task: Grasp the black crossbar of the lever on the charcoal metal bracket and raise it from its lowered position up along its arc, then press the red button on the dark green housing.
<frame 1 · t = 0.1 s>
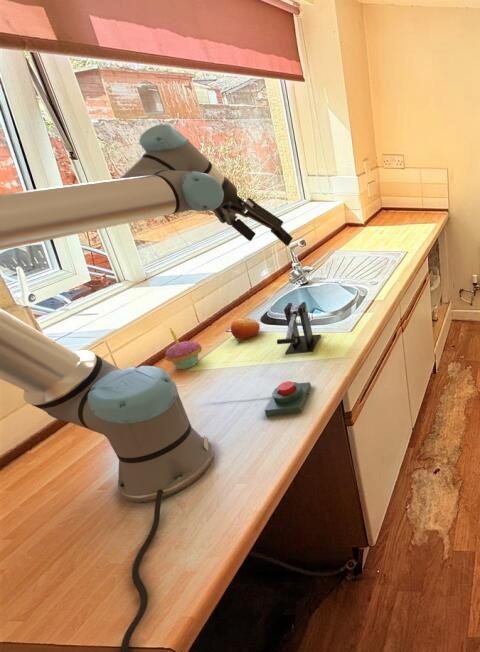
hand: (270, 239, 115), 36 cm above the worktop, tool tilted 35°, fingers open, 13 cm apart
cupcake: (188, 364, 119), on the worktop
button box: (290, 402, 104), on the worktop
fruit: (248, 337, 133), on the worktop
button: (286, 388, 103), point 5 cm above the worktop, slide at 0.2 cm
bracket: (304, 346, 129), on the worktop
lever: (292, 324, 120), point 11 cm above the worktop, hinge at -20.0°
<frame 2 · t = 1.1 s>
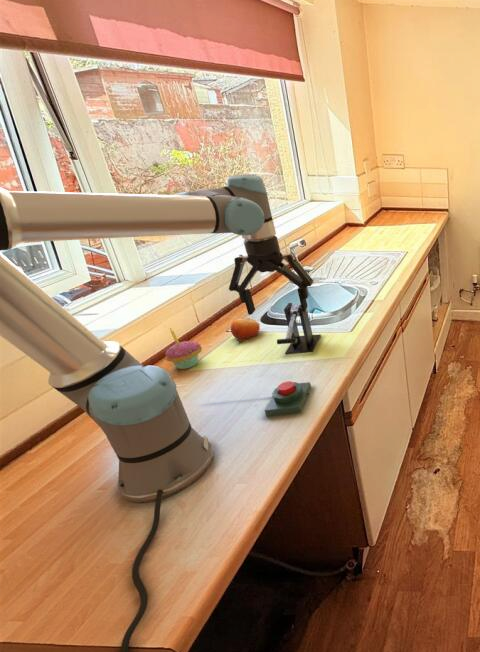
hand: (278, 310, 111), 19 cm above the worktop, tool pointing down, fingers open, 13 cm apart
nothing on the worktop moved.
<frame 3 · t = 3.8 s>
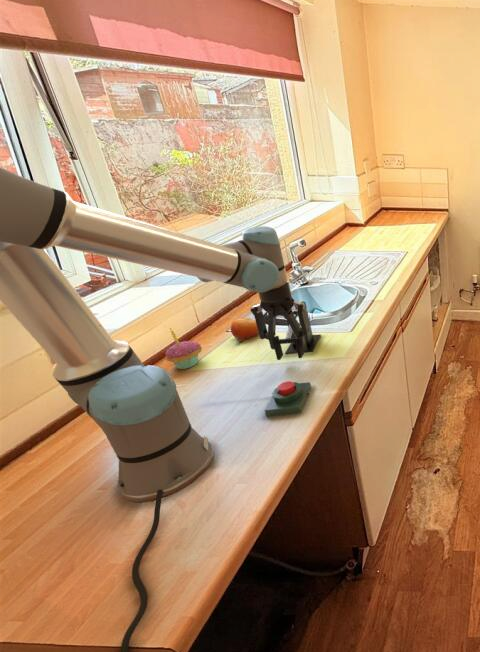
hand: (291, 356, 117), 4 cm above the worktop, tool pointing down, fingers closed on lever, 5 cm apart
lever: (292, 324, 120), point 11 cm above the worktop, hinge at -20.0°, touching gripper
everything else where it was.
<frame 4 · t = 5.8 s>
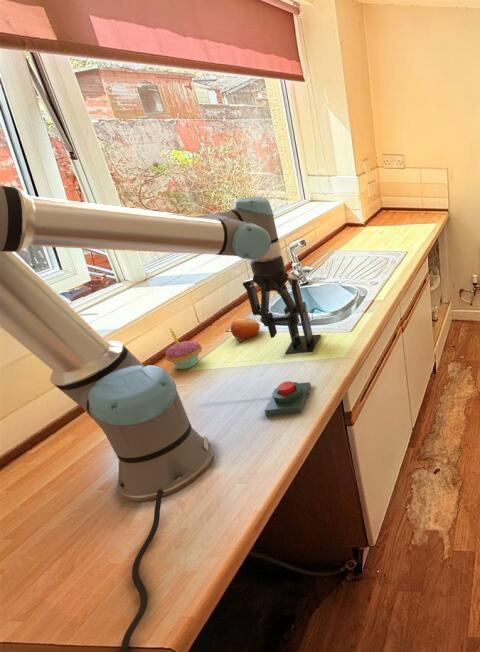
hand: (284, 334, 114), 11 cm above the worktop, tool pointing down, fingers closed on lever, 5 cm apart
lever: (289, 314, 118), point 15 cm above the worktop, hinge at 15.4°, touching gripper
everything else where it was.
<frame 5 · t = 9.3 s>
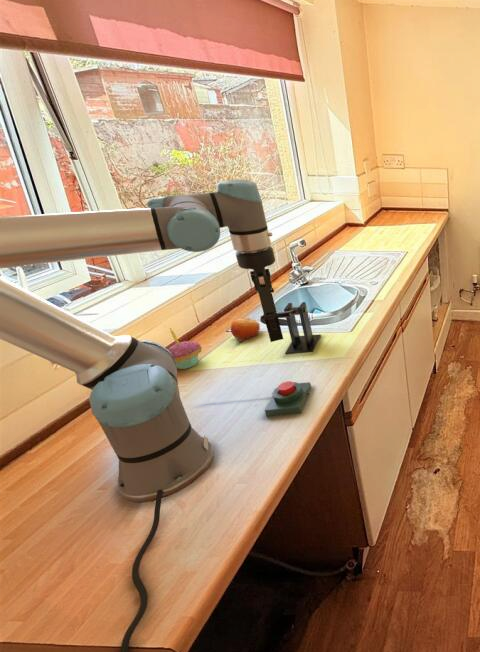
hand: (274, 328, 101), 19 cm above the worktop, tool pointing down, fingers open, 13 cm apart
lever: (289, 312, 118), point 15 cm above the worktop, hinge at 21.1°
everything else where it was.
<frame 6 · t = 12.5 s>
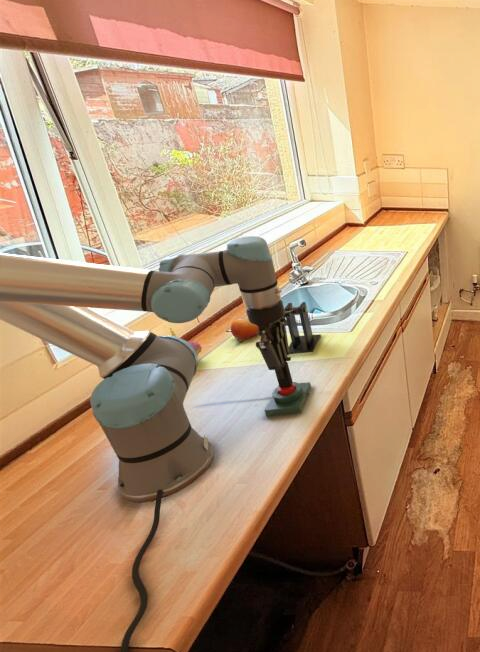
hand: (286, 385, 102), 5 cm above the worktop, tool pointing down, fingers closed
button: (286, 389, 103), point 4 cm above the worktop, slide at -0.1 cm, touching gripper
everything else where it was.
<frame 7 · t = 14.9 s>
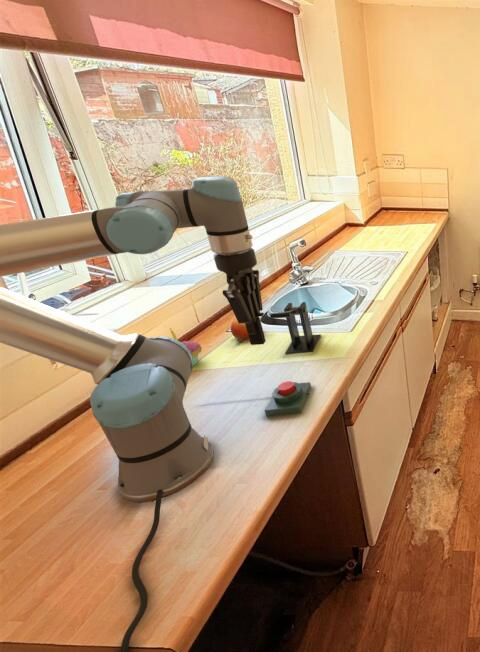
hand: (258, 342, 96), 18 cm above the worktop, tool pointing down, fingers closed
button: (286, 388, 103), point 5 cm above the worktop, slide at 0.2 cm
everything else where it was.
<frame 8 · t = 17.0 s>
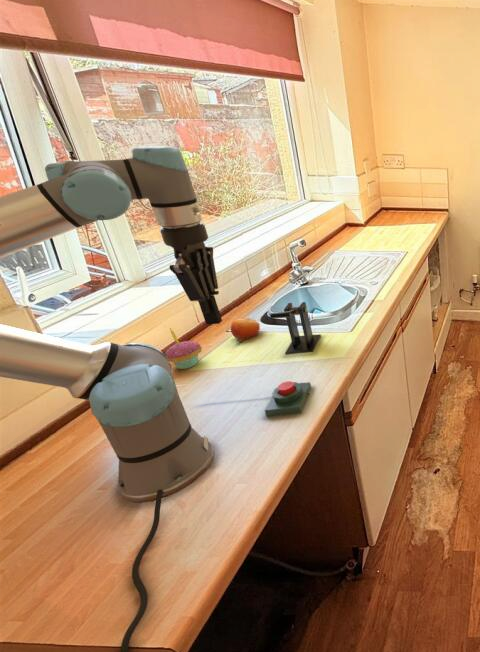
hand: (214, 322, 93), 24 cm above the worktop, tool pointing down, fingers closed
nothing on the worktop moved.
at the end: lever at +21° (first picture: -20°); button pushed in 1.0 cm at the most during the clip, back to 0.2 cm at the end; button slide at 0.2 cm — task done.
